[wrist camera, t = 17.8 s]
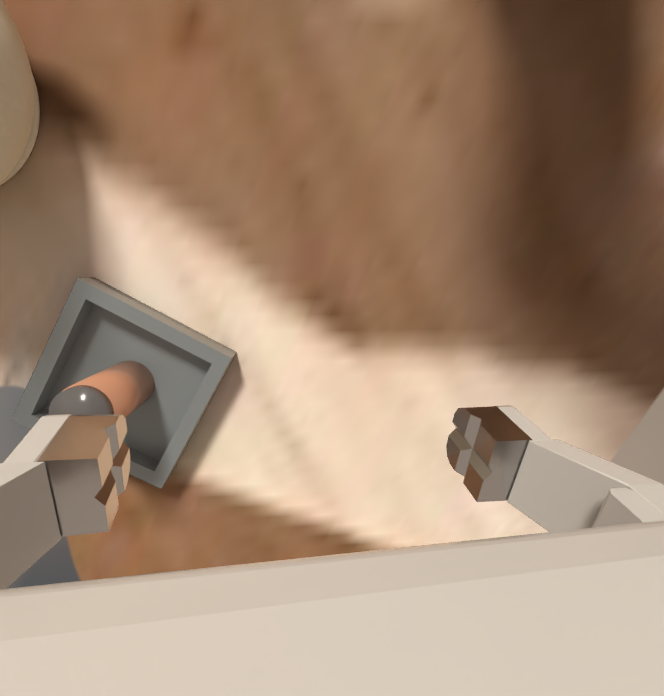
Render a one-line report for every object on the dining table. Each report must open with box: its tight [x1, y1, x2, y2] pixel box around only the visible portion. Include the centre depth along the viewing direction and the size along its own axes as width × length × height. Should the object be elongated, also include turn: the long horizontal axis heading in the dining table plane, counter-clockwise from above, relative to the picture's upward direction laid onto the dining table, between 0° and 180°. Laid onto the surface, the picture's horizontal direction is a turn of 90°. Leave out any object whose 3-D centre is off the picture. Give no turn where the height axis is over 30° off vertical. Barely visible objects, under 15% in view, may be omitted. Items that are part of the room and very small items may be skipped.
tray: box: [11, 278, 237, 489], centre depth 34 cm, size 13×13×2 cm
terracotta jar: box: [48, 361, 155, 418], centre depth 30 cm, size 4×4×8 cm
